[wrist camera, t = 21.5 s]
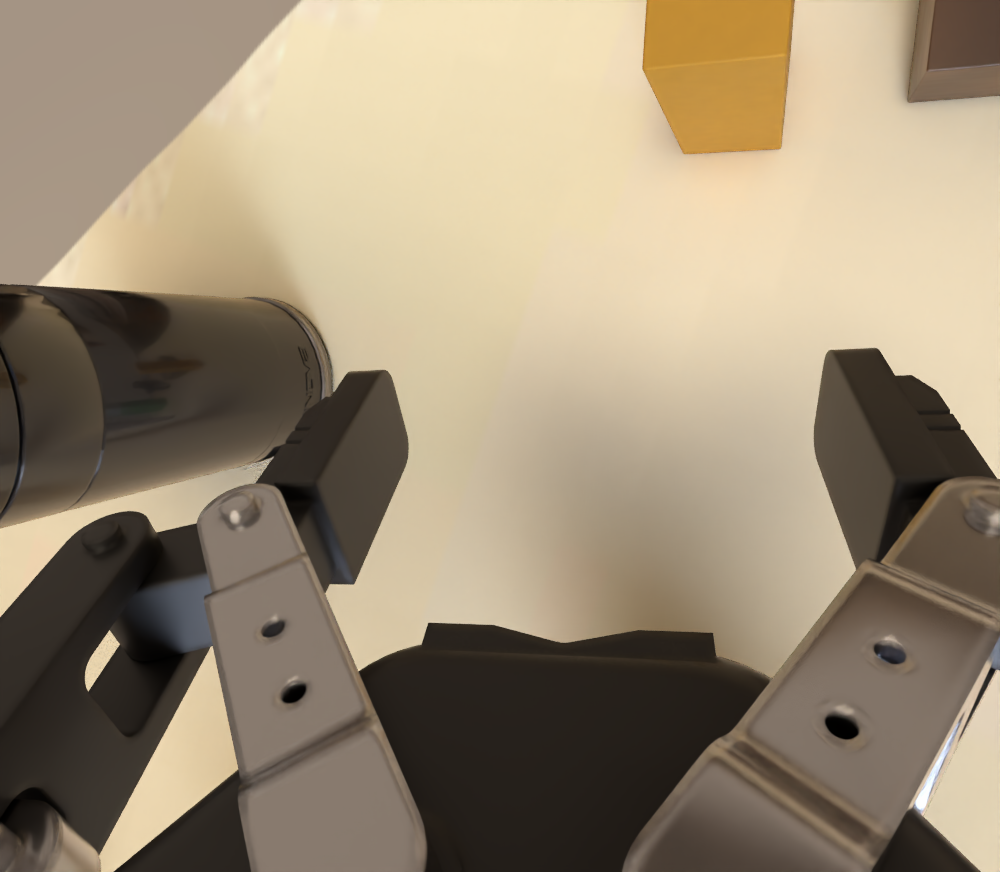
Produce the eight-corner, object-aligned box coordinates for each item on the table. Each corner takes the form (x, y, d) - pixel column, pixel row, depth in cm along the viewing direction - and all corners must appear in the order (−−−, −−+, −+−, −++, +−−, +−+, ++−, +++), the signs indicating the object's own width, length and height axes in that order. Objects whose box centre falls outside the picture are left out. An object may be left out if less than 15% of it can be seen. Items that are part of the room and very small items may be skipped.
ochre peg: (682, 154, 30) (641, 70, 20) (690, 56, 29) (651, -80, 19) (781, 149, 28) (786, 55, 19) (791, 46, 28) (802, -107, 18)
